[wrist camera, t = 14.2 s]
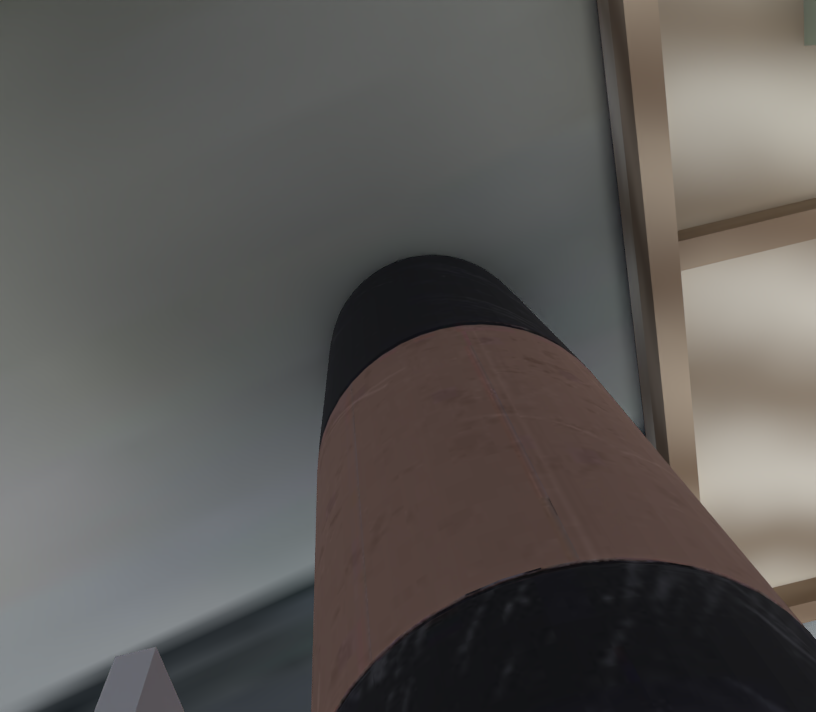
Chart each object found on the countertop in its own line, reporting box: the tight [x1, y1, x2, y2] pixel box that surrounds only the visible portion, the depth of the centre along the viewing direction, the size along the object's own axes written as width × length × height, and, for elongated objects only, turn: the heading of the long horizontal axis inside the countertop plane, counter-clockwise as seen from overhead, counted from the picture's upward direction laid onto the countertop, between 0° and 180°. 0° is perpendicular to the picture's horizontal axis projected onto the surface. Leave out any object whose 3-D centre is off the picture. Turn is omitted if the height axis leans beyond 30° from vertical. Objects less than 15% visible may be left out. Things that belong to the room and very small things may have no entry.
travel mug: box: [311, 255, 816, 712], centre depth 17 cm, size 8×8×20 cm
